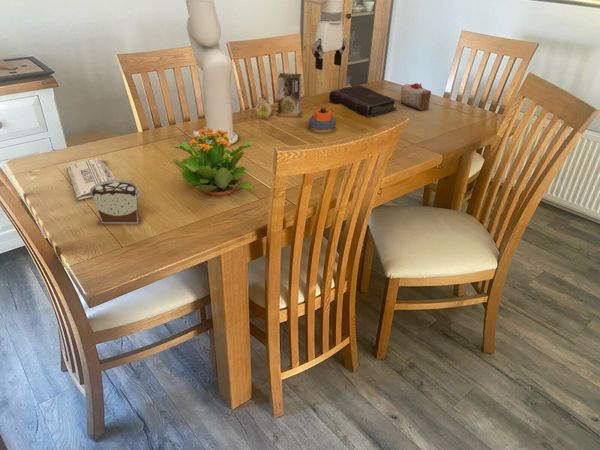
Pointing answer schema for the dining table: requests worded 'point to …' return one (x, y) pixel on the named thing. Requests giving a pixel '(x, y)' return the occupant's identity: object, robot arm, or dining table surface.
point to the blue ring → (322, 123)
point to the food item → (415, 96)
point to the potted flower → (213, 164)
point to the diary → (363, 100)
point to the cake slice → (116, 201)
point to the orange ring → (322, 115)
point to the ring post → (323, 112)
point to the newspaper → (88, 176)
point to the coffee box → (289, 93)
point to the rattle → (263, 103)
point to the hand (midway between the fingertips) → (328, 67)
